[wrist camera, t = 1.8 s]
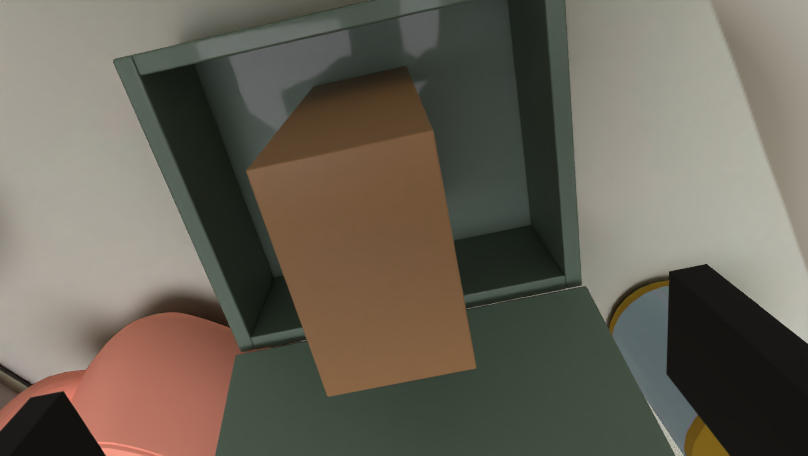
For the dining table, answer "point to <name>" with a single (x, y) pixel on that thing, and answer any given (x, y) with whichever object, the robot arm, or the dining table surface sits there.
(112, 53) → the dining table surface
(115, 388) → the teapot
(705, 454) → the bottle
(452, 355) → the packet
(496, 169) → the bin
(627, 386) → the bin lid
